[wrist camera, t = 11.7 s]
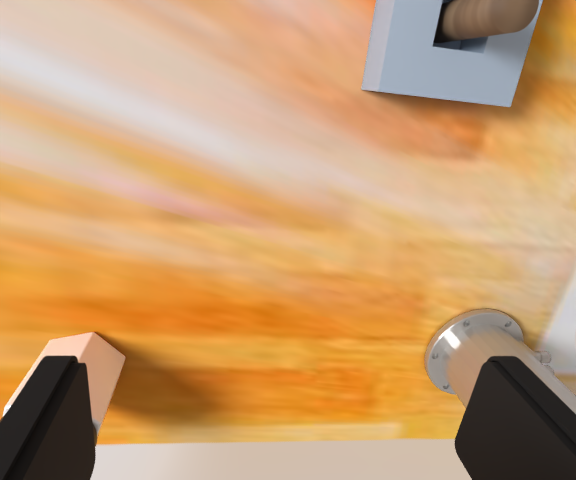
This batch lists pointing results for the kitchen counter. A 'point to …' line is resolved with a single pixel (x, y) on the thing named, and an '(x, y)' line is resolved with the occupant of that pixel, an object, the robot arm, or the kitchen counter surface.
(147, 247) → the kitchen counter surface
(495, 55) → the hole block
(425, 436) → the kitchen counter surface
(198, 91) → the kitchen counter surface
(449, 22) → the peg
